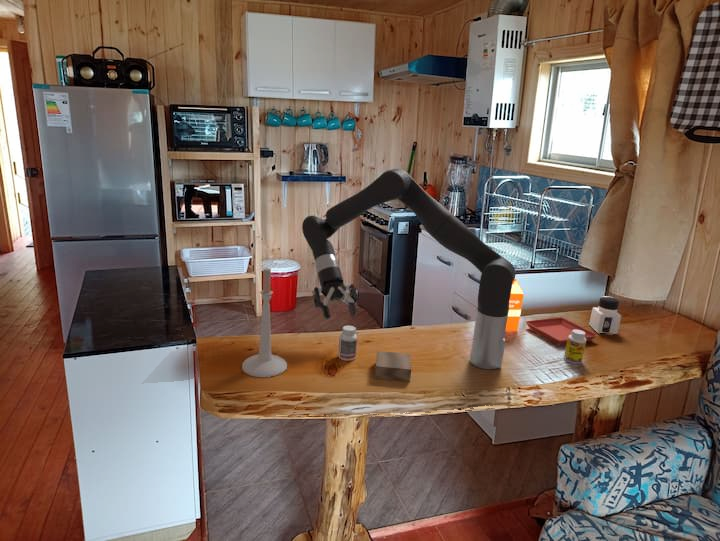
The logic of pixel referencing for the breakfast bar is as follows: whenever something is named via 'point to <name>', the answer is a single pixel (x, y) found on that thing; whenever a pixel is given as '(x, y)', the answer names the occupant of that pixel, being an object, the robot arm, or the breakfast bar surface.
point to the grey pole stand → (265, 341)
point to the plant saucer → (557, 329)
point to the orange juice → (514, 307)
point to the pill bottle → (348, 343)
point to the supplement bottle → (575, 347)
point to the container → (606, 316)
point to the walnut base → (393, 366)
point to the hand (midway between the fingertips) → (341, 316)
